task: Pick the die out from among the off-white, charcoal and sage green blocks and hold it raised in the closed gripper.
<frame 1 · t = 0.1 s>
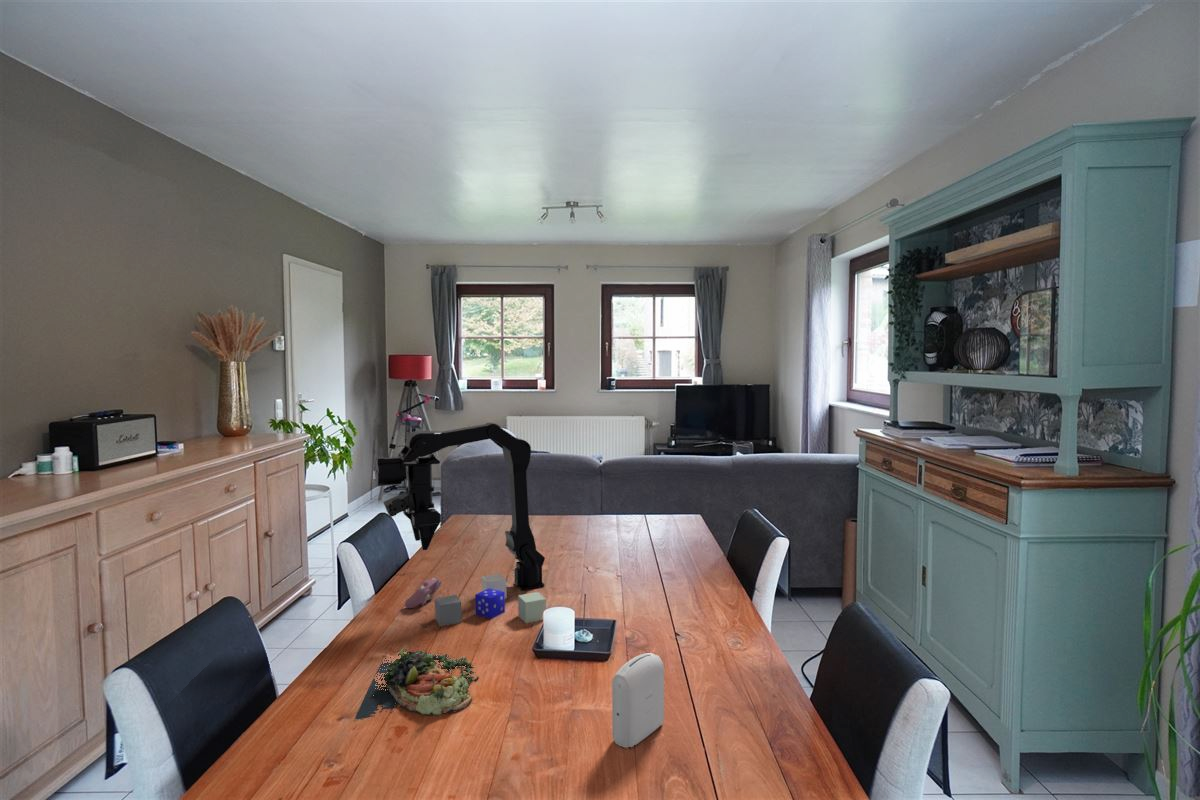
hand: (421, 545, 160), 15 cm above the table, tool pointing down, fingers open, 9 cm apart
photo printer: (638, 734, 104), on the table
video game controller: (424, 603, 161), on the table
sage green block: (532, 618, 151), on the table
off-white block: (494, 597, 165), on the table
die: (490, 614, 154), on the table
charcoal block: (448, 621, 150), on the table
plated dish: (430, 689, 120), on the table
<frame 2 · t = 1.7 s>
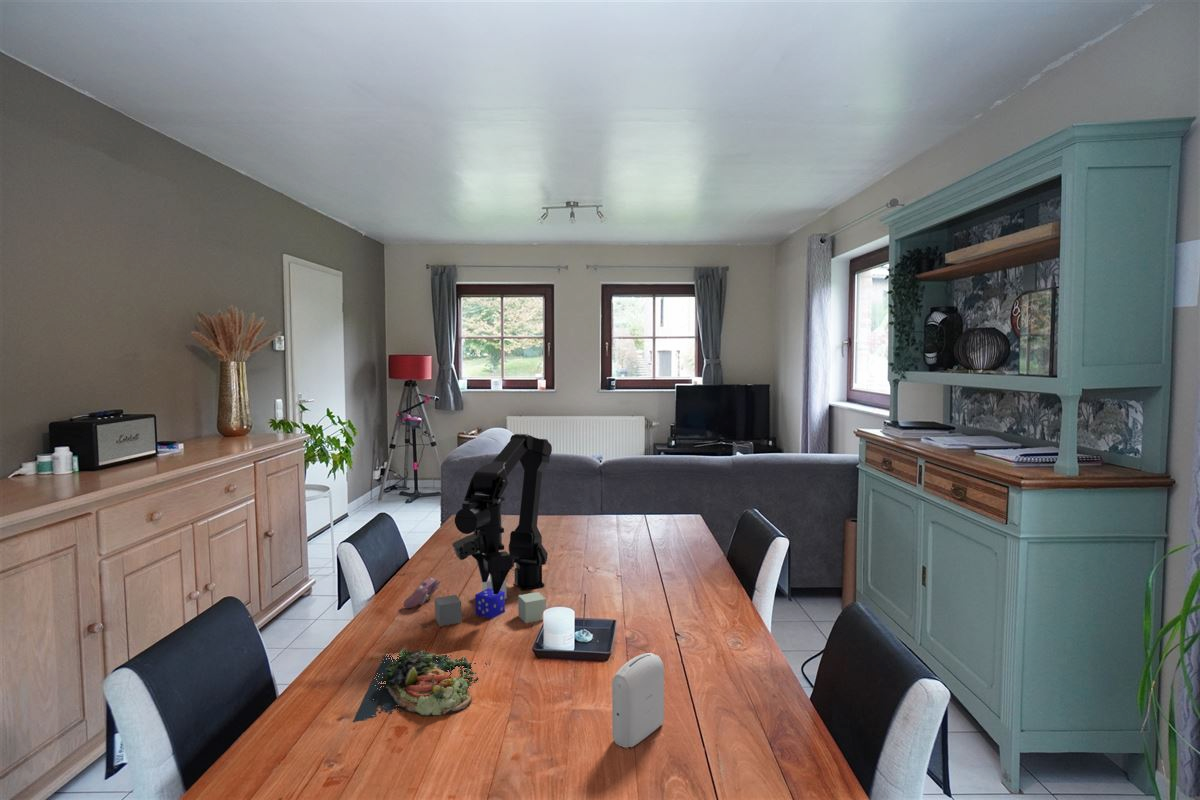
hand: (490, 587, 154), 6 cm above the table, tool pointing down, fingers open, 9 cm apart
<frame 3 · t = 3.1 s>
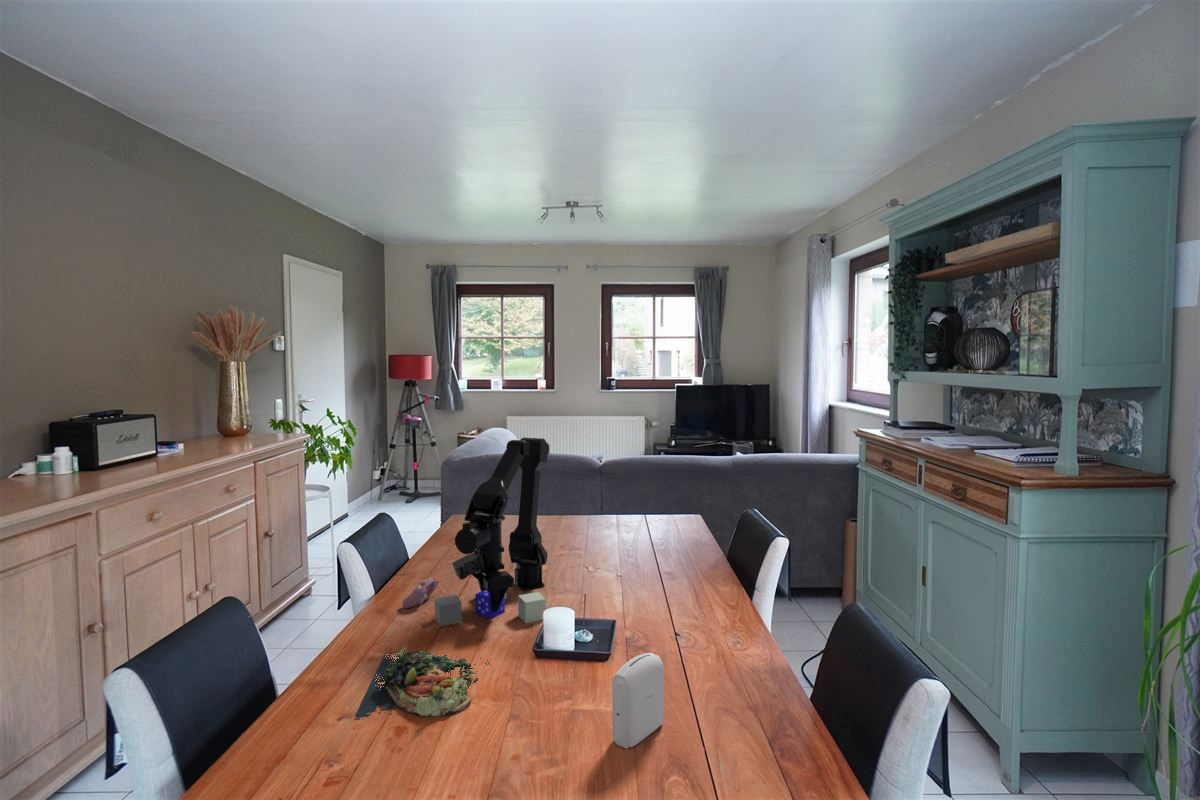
hand: (490, 606, 154), 2 cm above the table, tool pointing down, fingers closed on die, 7 cm apart
die: (490, 613, 154), on the table, touching gripper
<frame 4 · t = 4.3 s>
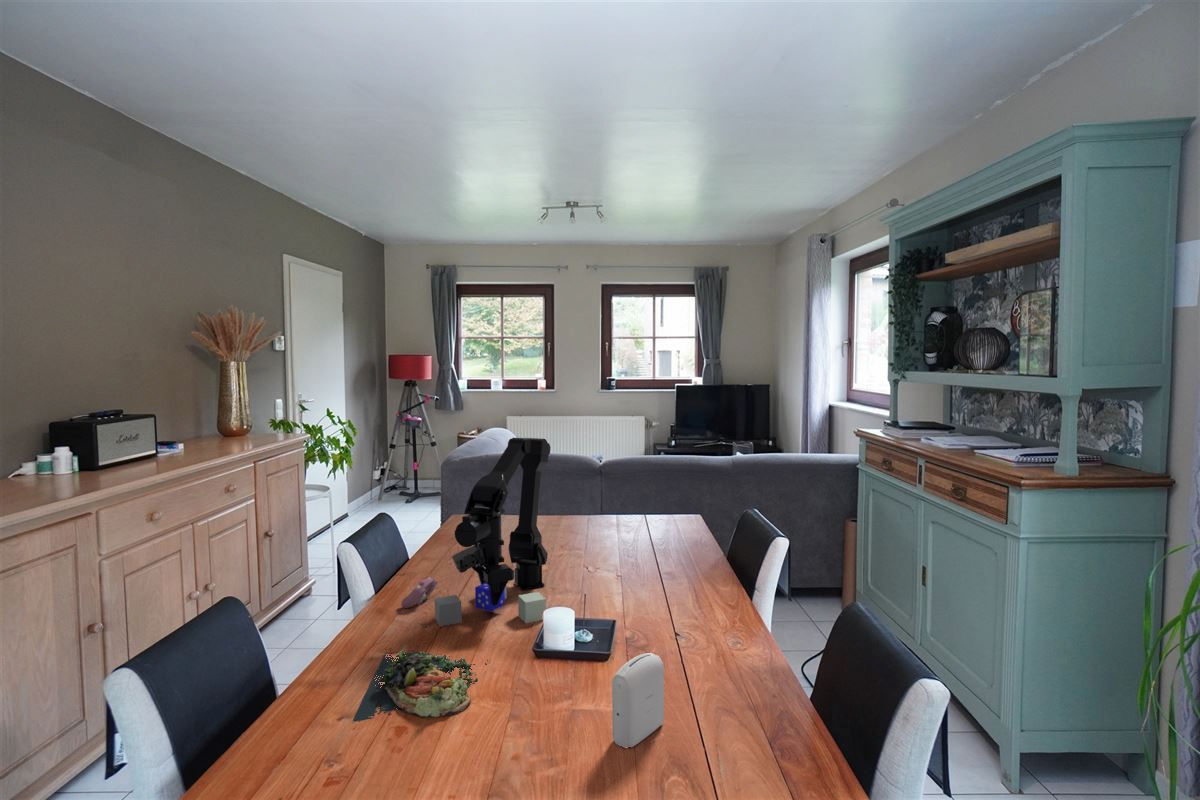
hand: (490, 600, 154), 3 cm above the table, tool pointing down, fingers closed on die, 7 cm apart
die: (490, 607, 154), point 1 cm above the table, touching gripper
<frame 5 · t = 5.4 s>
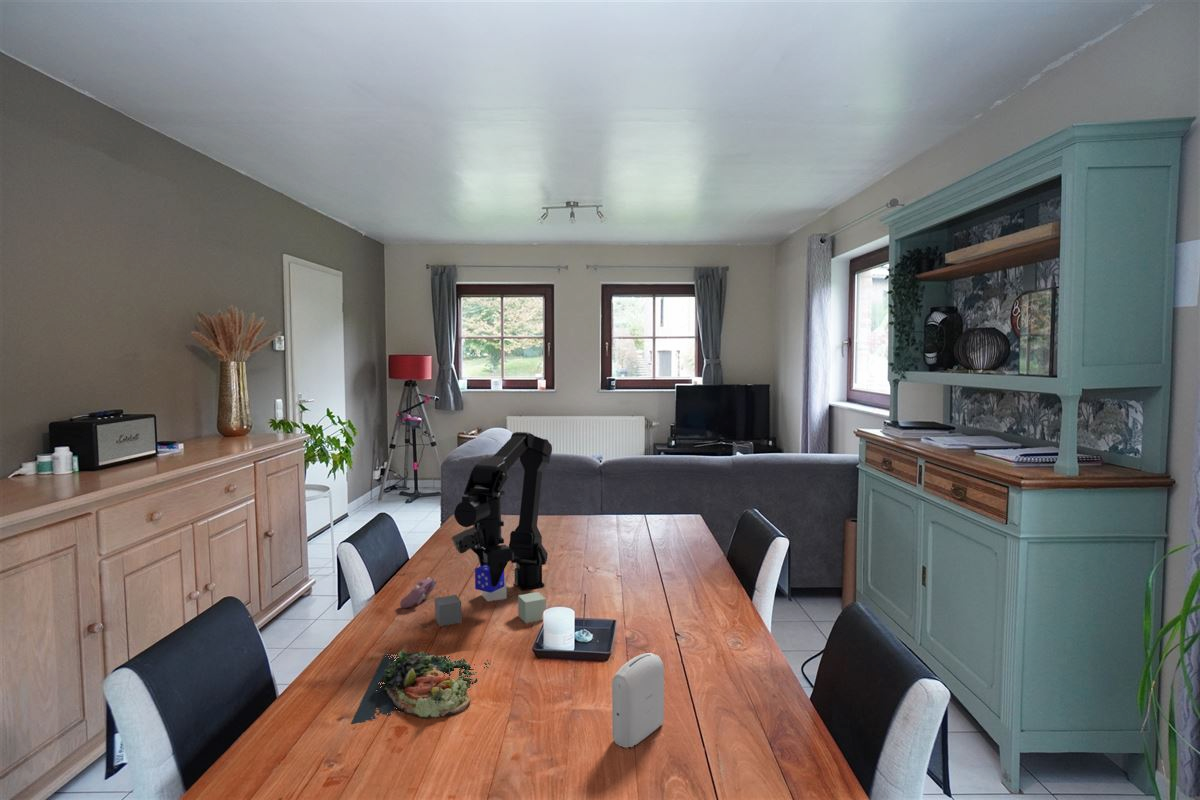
hand: (489, 581, 153), 8 cm above the table, tool pointing down, fingers closed on die, 7 cm apart
die: (489, 588, 154), point 6 cm above the table, touching gripper
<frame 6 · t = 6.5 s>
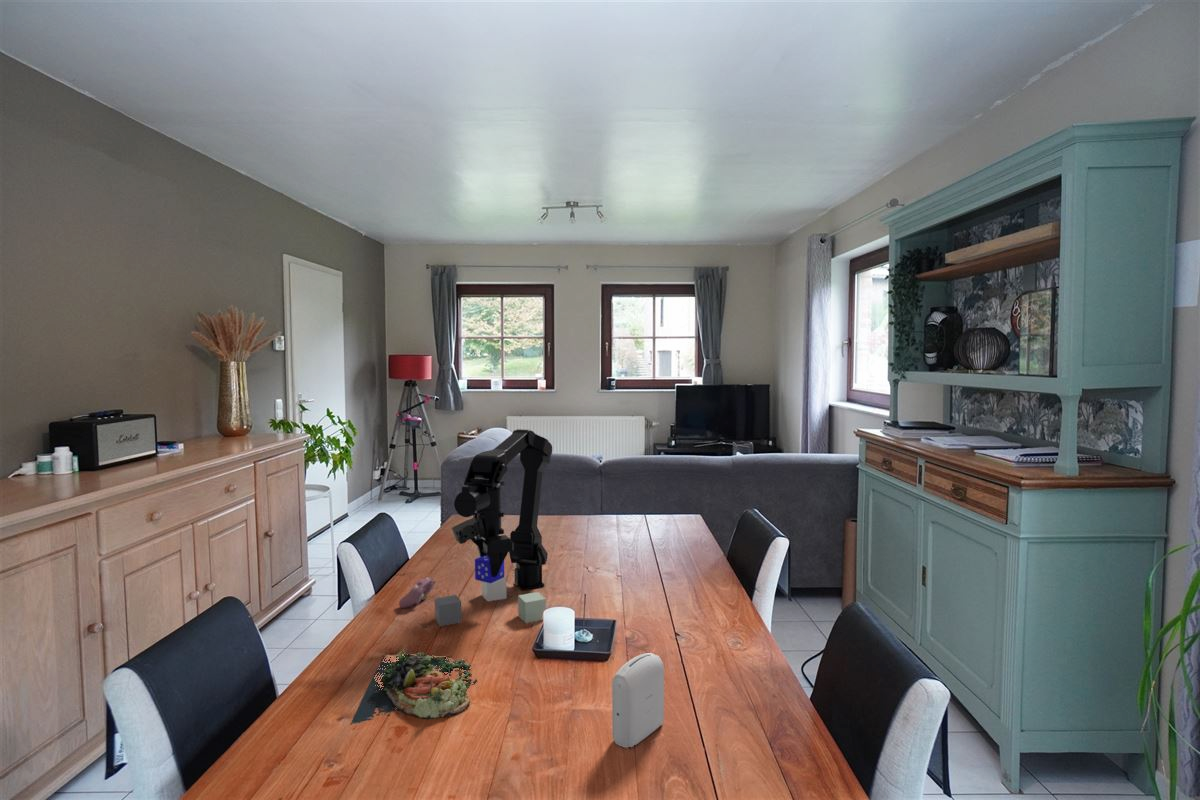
hand: (489, 572, 153), 10 cm above the table, tool pointing down, fingers closed on die, 7 cm apart
die: (489, 579, 153), point 8 cm above the table, touching gripper
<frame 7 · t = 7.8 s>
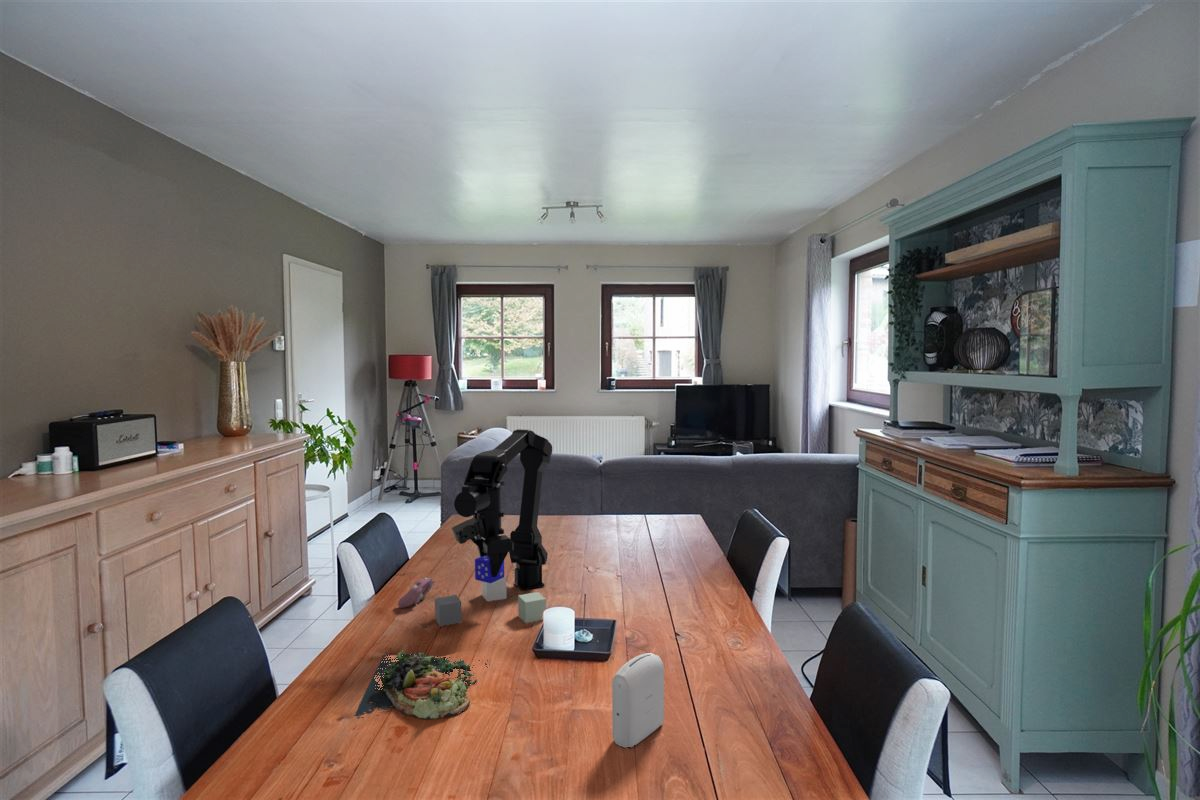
hand: (489, 572, 153), 10 cm above the table, tool pointing down, fingers closed on die, 7 cm apart
die: (489, 579, 153), point 8 cm above the table, touching gripper
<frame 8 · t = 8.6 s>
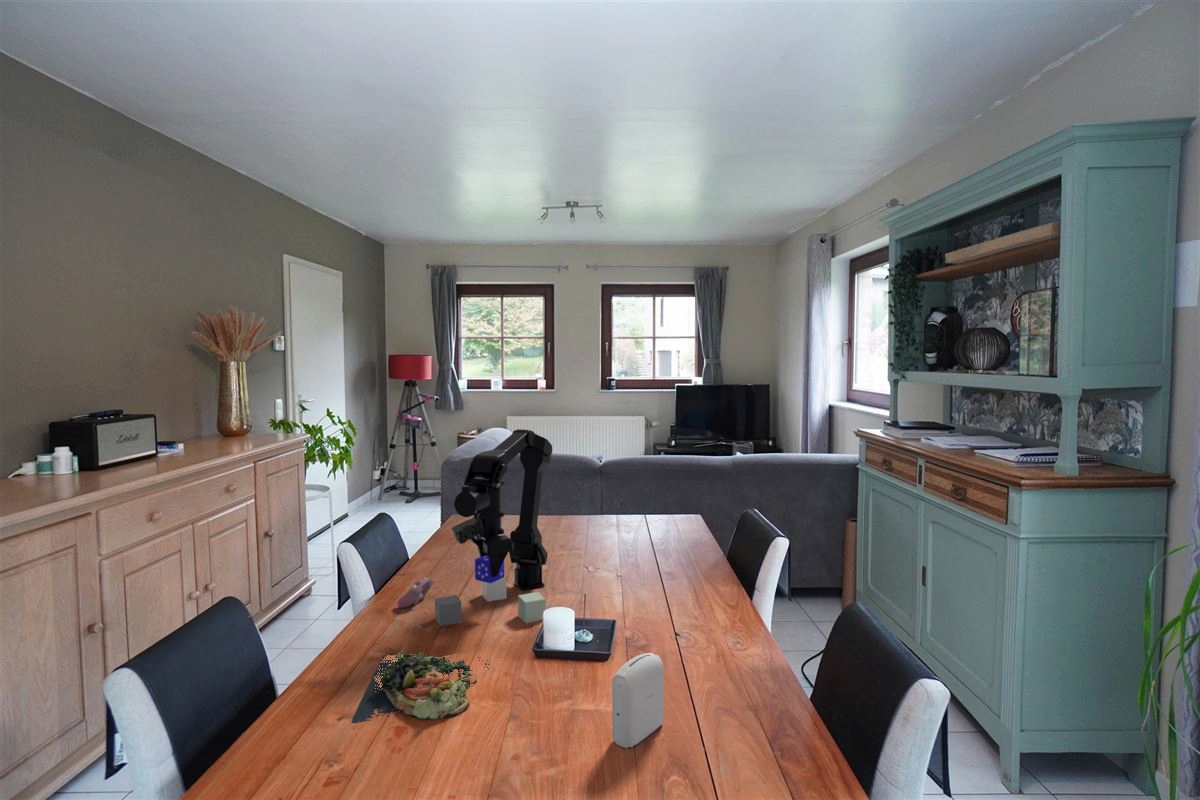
hand: (489, 572, 153), 10 cm above the table, tool pointing down, fingers closed on die, 7 cm apart
die: (489, 579, 153), point 8 cm above the table, touching gripper
at the end: the gripper is holding die; die point 8.2 cm above the table; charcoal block moved 0.1 cm from its start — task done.
